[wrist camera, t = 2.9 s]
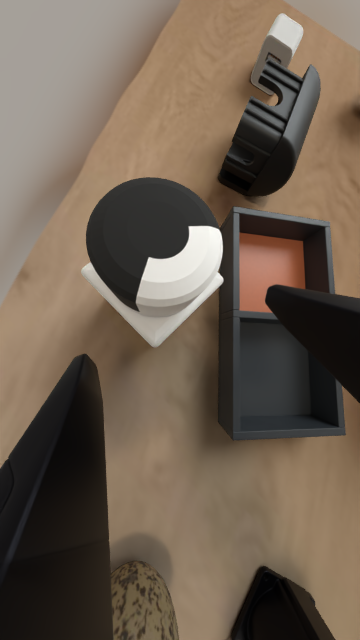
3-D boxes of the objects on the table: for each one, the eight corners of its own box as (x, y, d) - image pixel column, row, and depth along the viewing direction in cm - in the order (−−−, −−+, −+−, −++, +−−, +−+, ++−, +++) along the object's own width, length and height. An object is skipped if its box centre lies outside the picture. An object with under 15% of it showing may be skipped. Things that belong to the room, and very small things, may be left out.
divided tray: (312, 419, 20) (346, 435, 16) (217, 422, 18) (232, 440, 15) (303, 239, 23) (330, 221, 19) (220, 227, 21) (233, 205, 18)
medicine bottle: (106, 297, 18) (18, 214, 6) (156, 255, 19) (161, 122, 8) (154, 346, 18) (156, 356, 6) (200, 301, 20) (272, 241, 8)
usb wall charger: (248, 81, 24) (266, 31, 20) (265, 50, 26) (285, -2, 22) (272, 97, 25) (295, 51, 21) (287, 66, 26) (312, 17, 22)
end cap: (264, 209, 22) (311, 154, 16) (215, 183, 22) (242, 113, 15) (286, 151, 24) (337, 78, 17) (241, 125, 23) (276, 39, 17)
